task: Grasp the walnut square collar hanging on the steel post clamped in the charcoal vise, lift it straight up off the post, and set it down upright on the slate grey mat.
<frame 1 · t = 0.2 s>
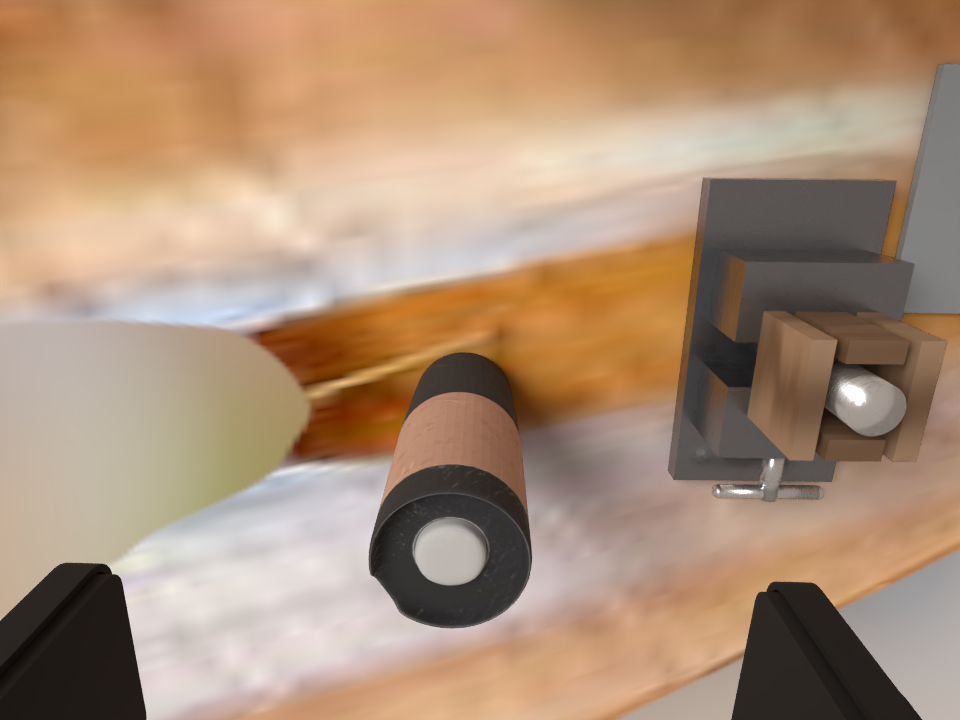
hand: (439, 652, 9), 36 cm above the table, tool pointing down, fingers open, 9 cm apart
vise: (766, 336, 46), on the table
collar: (811, 365, 39), point 6 cm above the table, touching vise
travel mug: (463, 395, 47), on the table
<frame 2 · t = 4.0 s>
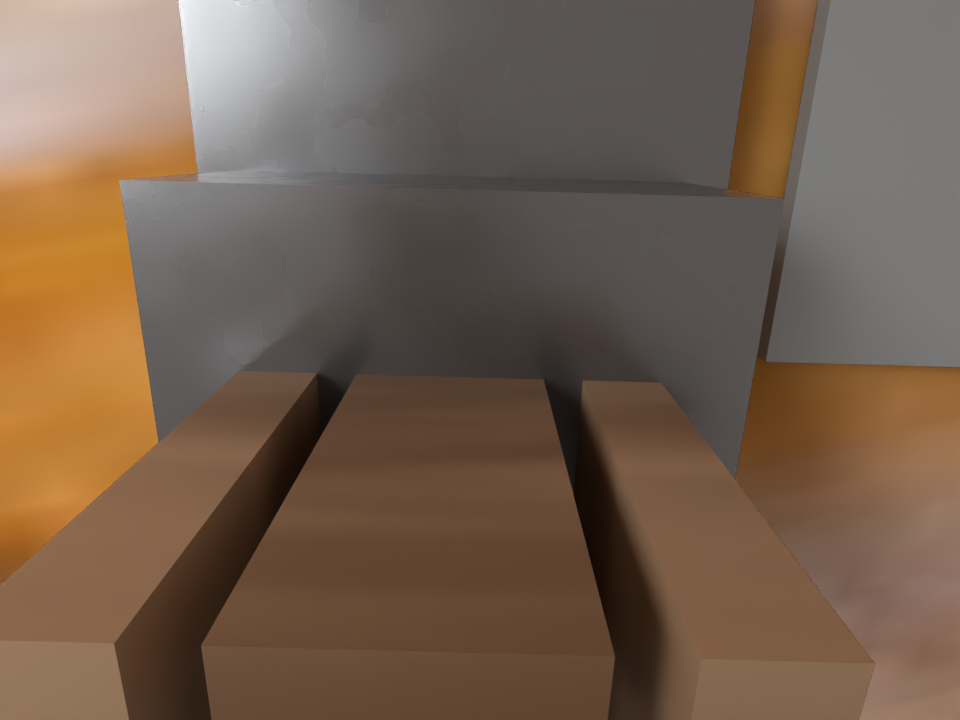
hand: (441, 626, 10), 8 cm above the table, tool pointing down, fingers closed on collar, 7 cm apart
vise: (460, 414, 18), on the table
collar: (447, 556, 11), point 7 cm above the table, touching gripper, vise
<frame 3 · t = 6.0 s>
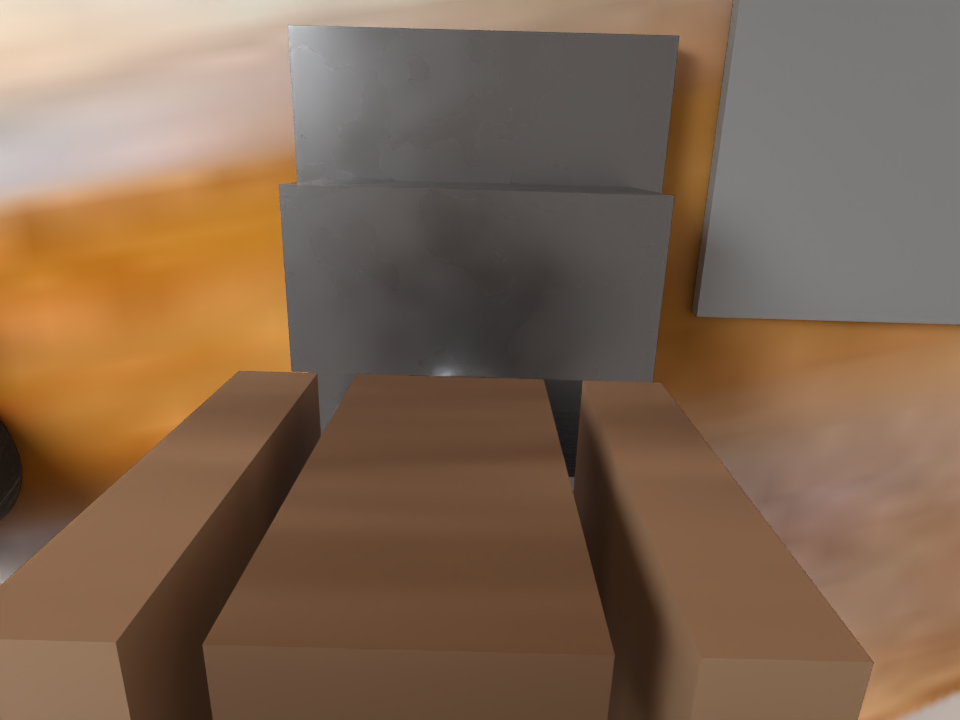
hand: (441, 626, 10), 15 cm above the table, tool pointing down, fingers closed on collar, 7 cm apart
vise: (475, 357, 24), on the table
collar: (447, 556, 12), point 13 cm above the table, touching gripper
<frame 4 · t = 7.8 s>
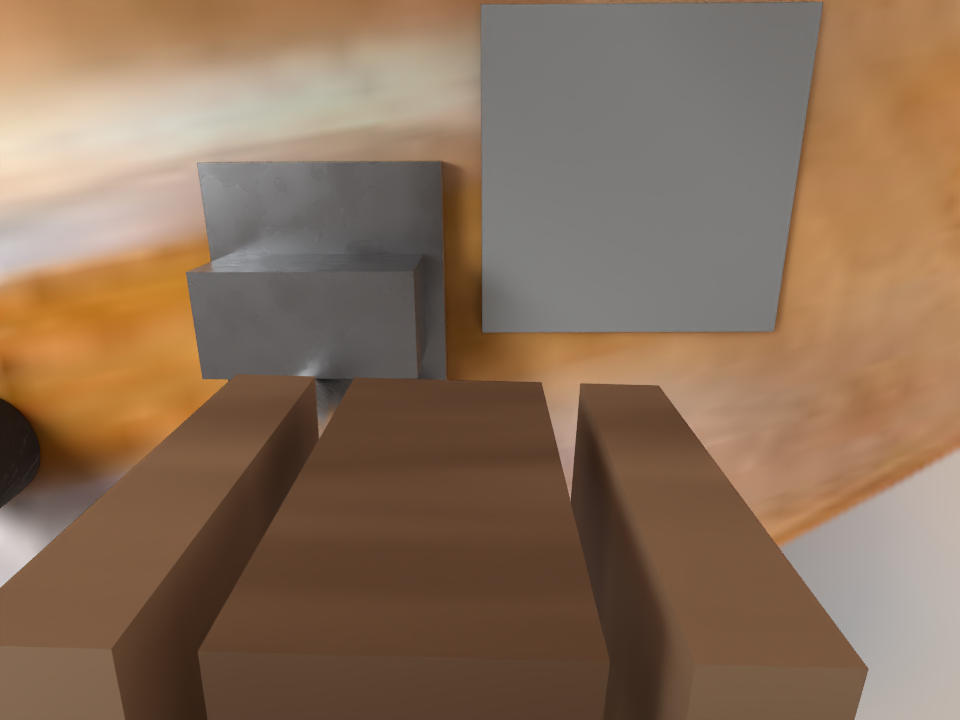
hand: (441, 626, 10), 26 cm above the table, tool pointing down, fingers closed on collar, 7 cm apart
vise: (342, 363, 36), on the table
collar: (445, 558, 12), point 24 cm above the table, touching gripper
mat: (636, 180, 33), on the table
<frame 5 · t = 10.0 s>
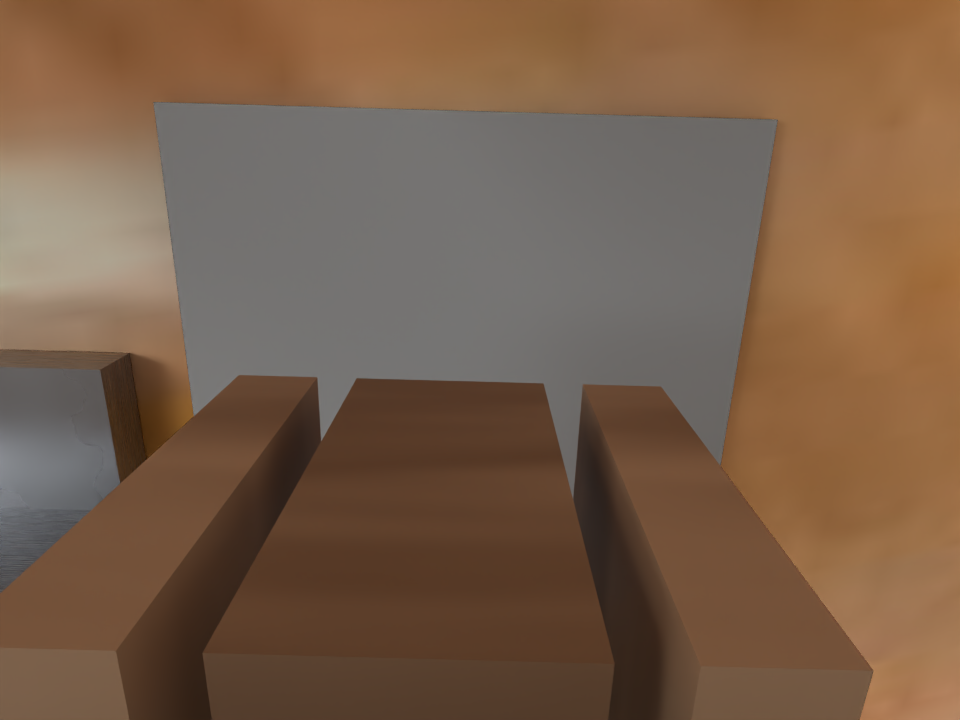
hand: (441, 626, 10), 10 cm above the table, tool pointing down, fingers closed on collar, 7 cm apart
vise: (6, 643, 22), on the table
collar: (447, 559, 12), point 8 cm above the table, touching gripper
mat: (461, 393, 19), on the table
when the fingers open (4 cm above the table, at t = 11.9 s): collar drops 2 cm, resting on mat.
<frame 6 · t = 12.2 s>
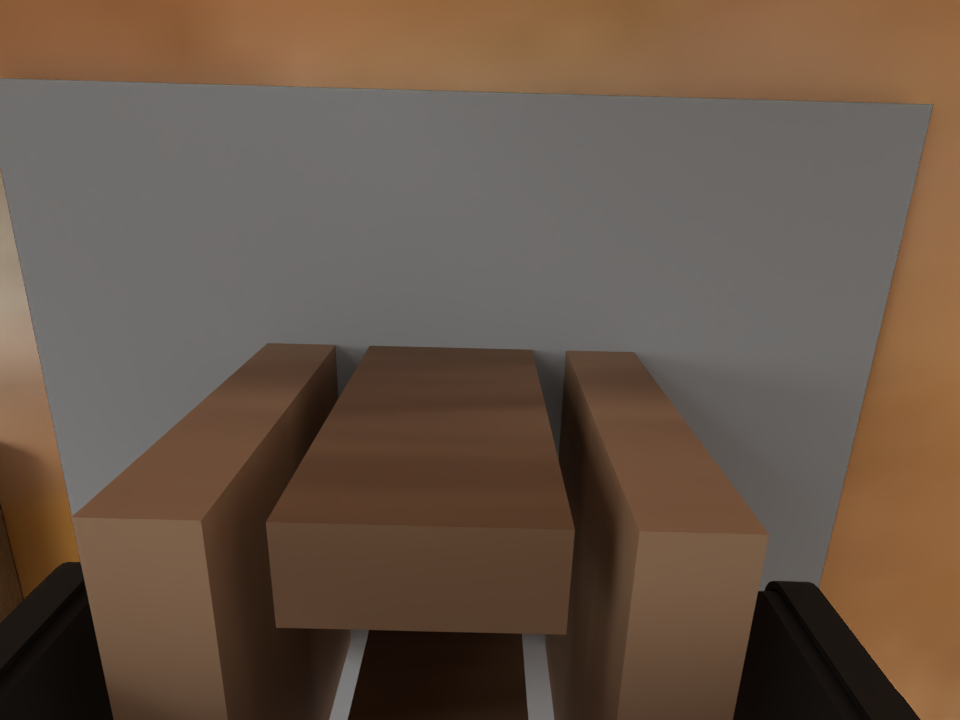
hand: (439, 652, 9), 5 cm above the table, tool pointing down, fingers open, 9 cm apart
collar: (449, 507, 13), point 1 cm above the table, touching mat
mat: (453, 492, 14), on the table
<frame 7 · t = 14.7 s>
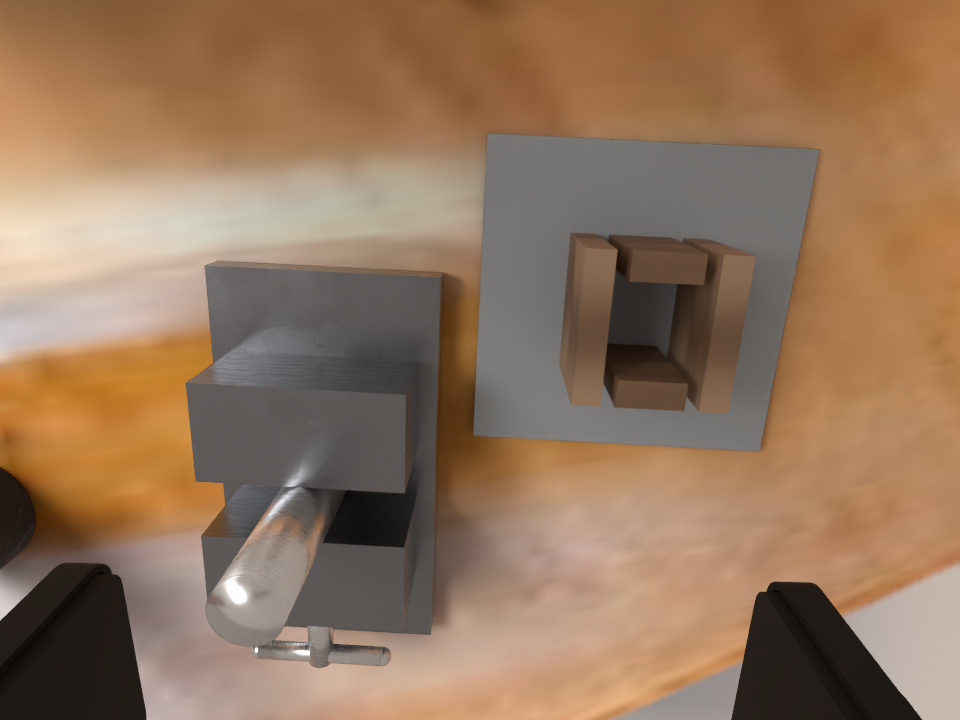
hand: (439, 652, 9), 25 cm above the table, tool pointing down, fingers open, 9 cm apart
vise: (334, 455, 37), on the table
collar: (631, 303, 33), point 1 cm above the table, touching mat
mat: (630, 301, 33), on the table
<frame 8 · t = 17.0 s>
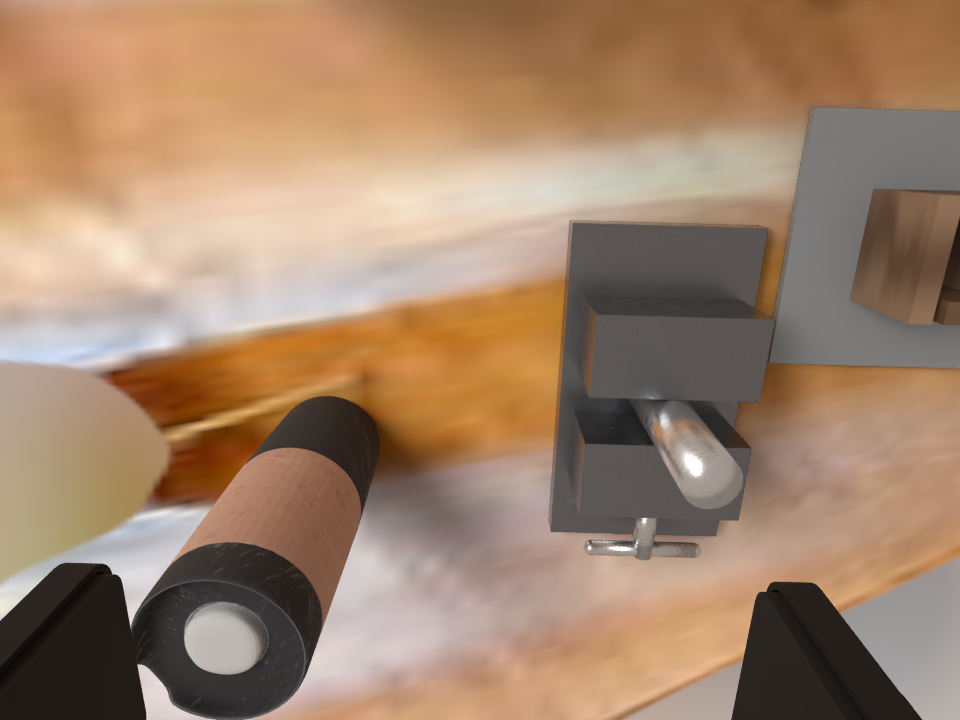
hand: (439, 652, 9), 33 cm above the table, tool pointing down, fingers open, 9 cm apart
vise: (644, 384, 43), on the table
collar: (916, 247, 40), point 1 cm above the table, touching mat
mat: (911, 245, 40), on the table
travel mug: (331, 440, 45), on the table
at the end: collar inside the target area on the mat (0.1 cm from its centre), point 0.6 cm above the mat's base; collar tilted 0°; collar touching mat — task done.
